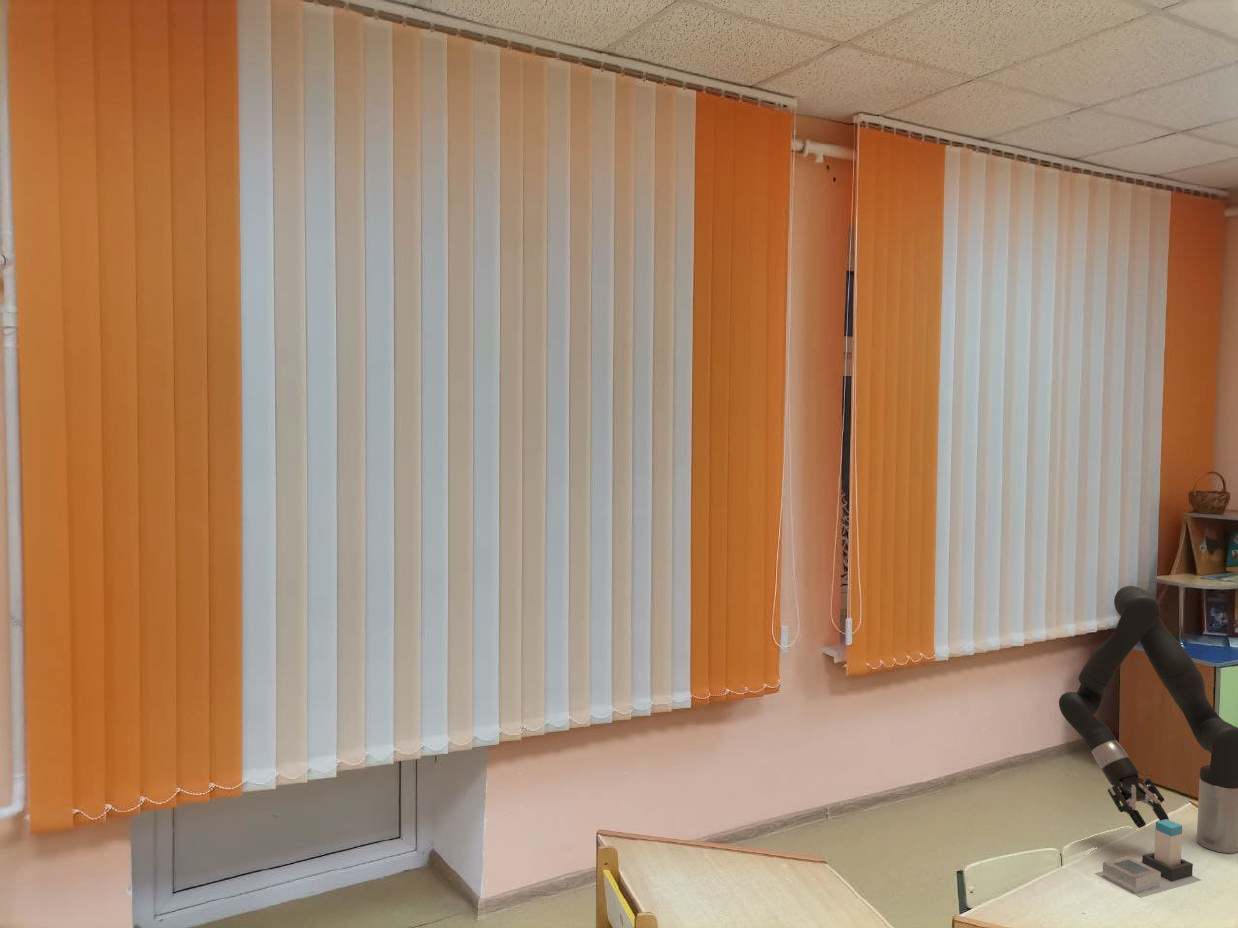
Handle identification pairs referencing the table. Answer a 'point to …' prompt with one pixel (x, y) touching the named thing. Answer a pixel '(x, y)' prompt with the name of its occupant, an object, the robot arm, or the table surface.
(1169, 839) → the plug
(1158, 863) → the dark grey square socket
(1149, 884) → the port
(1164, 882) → the panel
